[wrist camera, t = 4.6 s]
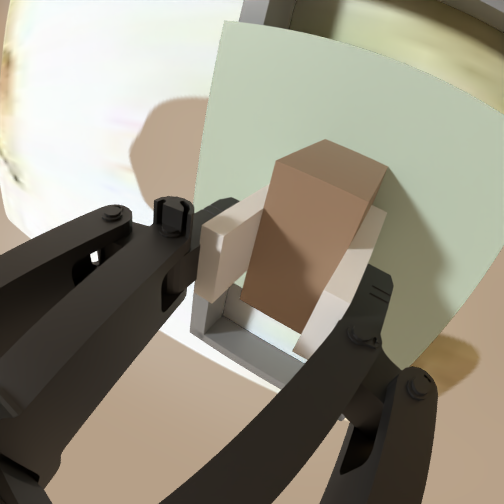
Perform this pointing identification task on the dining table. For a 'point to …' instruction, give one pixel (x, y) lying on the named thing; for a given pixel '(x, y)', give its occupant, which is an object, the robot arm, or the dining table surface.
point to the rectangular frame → (211, 314)
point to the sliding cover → (353, 176)
